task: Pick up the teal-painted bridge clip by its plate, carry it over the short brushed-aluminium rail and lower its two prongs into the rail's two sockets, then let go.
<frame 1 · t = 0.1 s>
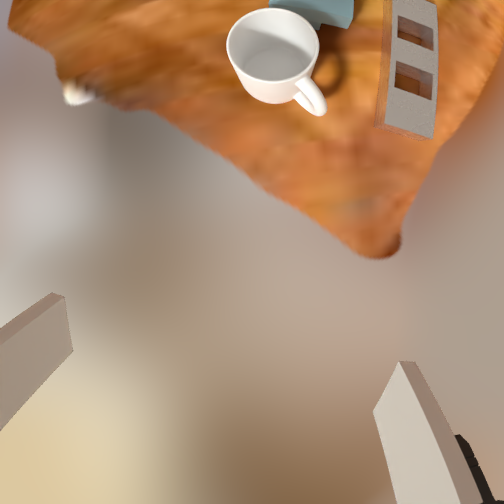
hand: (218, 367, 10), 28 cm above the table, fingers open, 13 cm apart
mug: (284, 85, 32), on the table
clip: (310, 3, 28), on the table
rail: (403, 64, 29), on the table
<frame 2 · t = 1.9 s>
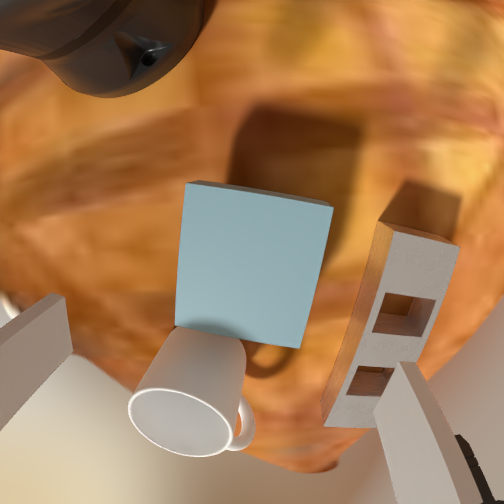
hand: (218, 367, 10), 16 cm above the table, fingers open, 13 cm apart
mug: (219, 363, 29), on the table
clip: (255, 245, 25), on the table
rail: (378, 328, 27), on the table
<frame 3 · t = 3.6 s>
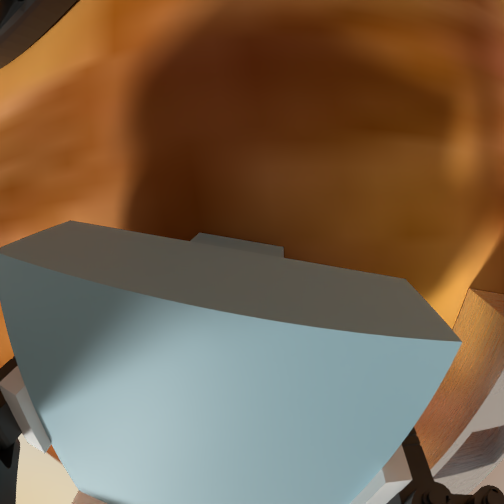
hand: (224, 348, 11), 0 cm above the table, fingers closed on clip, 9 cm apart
clip: (226, 341, 12), on the table, touching gripper
rail: (430, 441, 13), on the table
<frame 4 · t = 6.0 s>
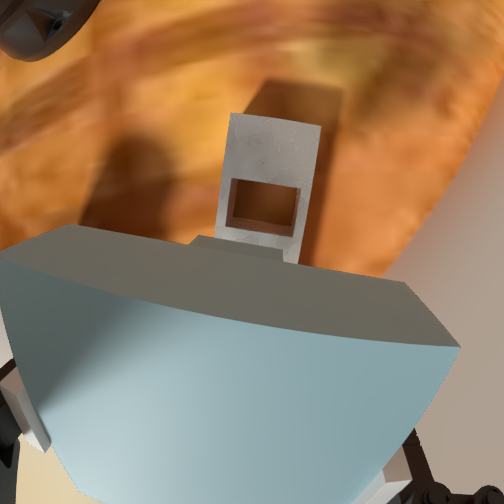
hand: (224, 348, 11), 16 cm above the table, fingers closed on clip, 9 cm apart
clip: (225, 343, 12), point 15 cm above the table, touching gripper
rail: (258, 240, 26), on the table
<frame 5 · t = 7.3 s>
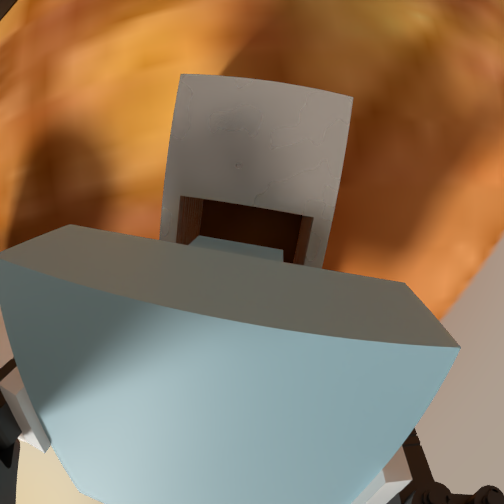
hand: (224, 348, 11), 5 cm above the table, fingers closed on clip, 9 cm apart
mug: (48, 330, 19), on the table
clip: (225, 344, 12), point 5 cm above the table, touching gripper
rail: (239, 291, 16), on the table
when the fingers open (2 cm above the table, at t = 8.4 s): clip stays where it is, resting on rail.
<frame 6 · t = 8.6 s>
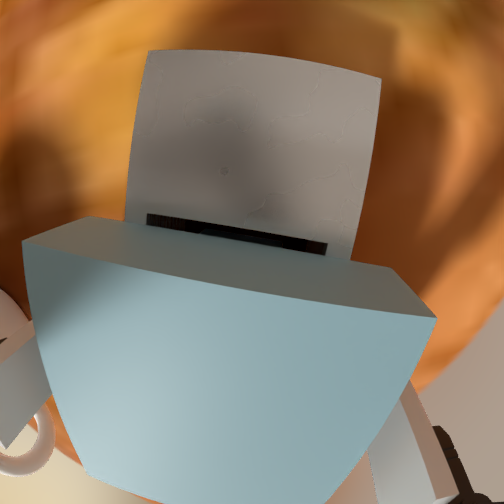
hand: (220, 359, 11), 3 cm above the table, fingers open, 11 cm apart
mug: (25, 352, 16), on the table
clip: (229, 330, 13), resting on rail
rail: (231, 323, 13), on the table
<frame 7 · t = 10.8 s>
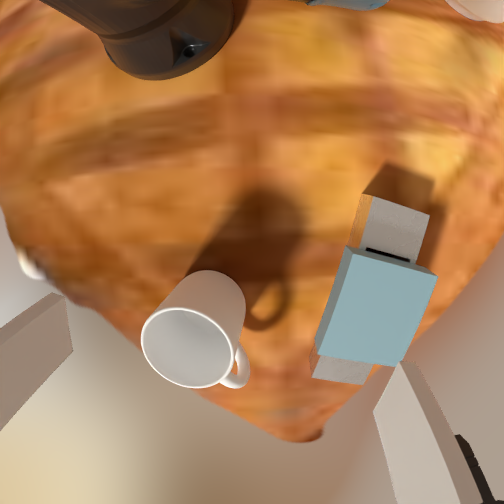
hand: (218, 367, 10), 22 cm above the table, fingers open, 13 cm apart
mug: (220, 314, 34), on the table
clip: (362, 291, 31), resting on rail
rail: (362, 289, 32), on the table
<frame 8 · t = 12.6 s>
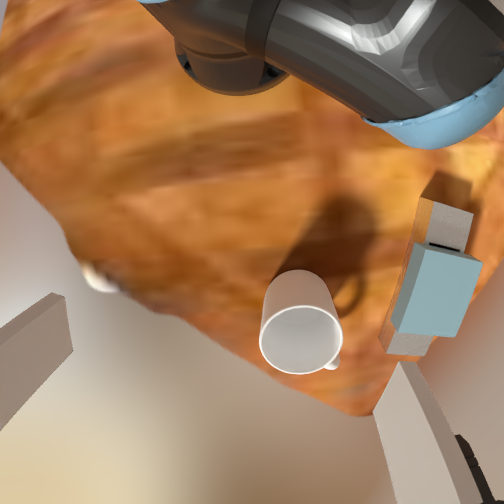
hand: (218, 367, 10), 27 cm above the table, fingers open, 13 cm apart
mug: (305, 307, 39), on the table
clip: (421, 277, 35), resting on rail
rail: (420, 275, 36), on the table
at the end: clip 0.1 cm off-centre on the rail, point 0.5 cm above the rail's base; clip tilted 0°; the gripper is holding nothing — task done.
